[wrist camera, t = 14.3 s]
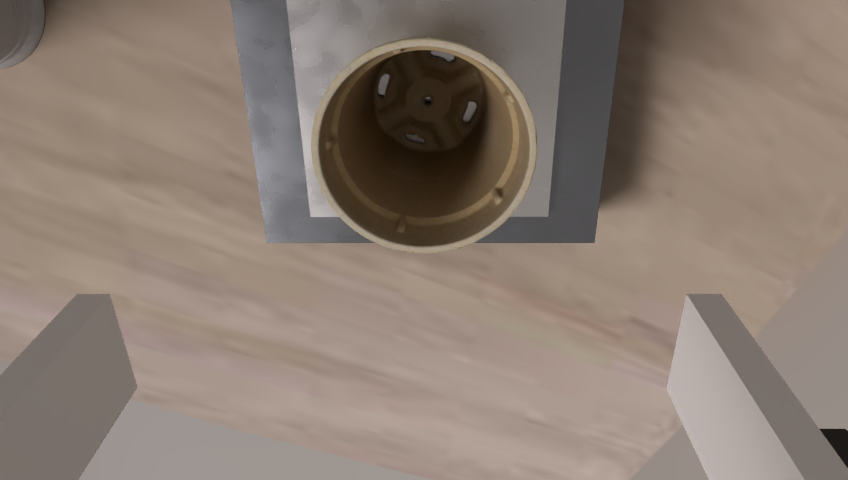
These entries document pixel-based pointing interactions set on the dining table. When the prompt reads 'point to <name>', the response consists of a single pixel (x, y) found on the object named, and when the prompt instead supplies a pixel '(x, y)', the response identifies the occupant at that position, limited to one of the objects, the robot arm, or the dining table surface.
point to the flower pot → (424, 146)
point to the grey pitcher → (19, 29)
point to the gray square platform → (434, 18)
